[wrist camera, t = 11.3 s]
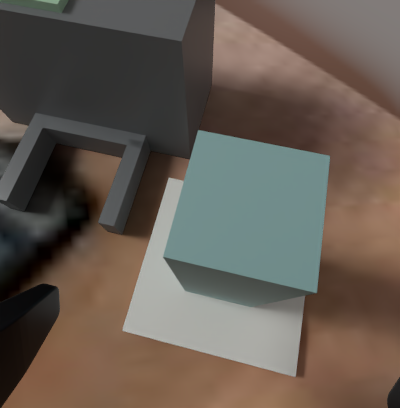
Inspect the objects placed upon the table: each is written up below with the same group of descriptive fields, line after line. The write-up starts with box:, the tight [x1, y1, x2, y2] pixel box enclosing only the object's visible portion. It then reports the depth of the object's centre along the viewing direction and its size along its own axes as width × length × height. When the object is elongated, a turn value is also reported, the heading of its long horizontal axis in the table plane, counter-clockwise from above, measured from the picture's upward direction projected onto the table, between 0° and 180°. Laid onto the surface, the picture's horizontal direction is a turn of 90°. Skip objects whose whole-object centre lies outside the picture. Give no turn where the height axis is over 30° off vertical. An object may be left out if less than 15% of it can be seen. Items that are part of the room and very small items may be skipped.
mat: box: [122, 178, 305, 377], centre depth 19 cm, size 10×10×1 cm
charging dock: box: [0, 0, 215, 235], centre depth 18 cm, size 14×14×10 cm
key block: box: [163, 130, 330, 307], centre depth 14 cm, size 4×4×11 cm
